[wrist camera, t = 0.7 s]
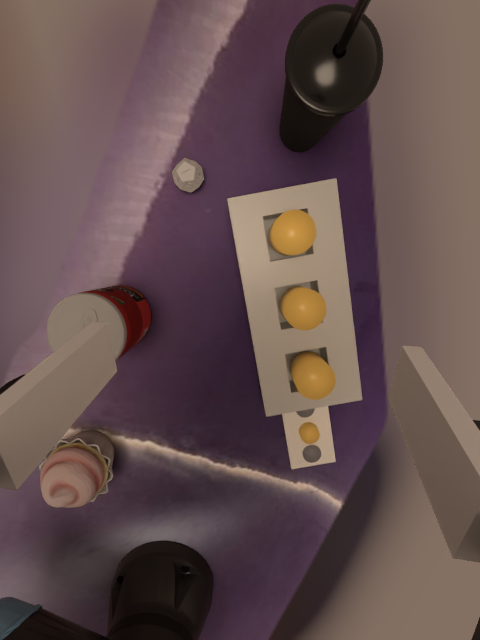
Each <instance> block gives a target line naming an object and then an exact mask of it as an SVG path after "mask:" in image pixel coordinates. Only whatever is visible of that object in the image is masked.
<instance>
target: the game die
mask: <svg viewBox="0 0 480 640" xmlns="http://www.w3.org/2000/svg"><path fill="white" fill-rule="evenodd" d="M172 174H173V178H174V182H175V184H176V185H177V186H178V187H179V188H180V189H181V190H184V191H187V192H191V193H192V192H193V191H194V190H196V189H197V188H198V187H200V185H201V183H202V182H203V180H204V176H203V170H202V167H201V166H200V165H199V164H198V163H197V162H195V161H193V160H190V159H187V158H184V159H183V160H182V161H181V162H180V163H178V164H177V166H176V167H175V168H174V170H173V171H172Z"/></svg>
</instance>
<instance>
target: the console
mask: <svg viewBox="0 0 480 640" xmlns="http://www.w3.org/2000/svg"><path fill="white" fill-rule="evenodd" d="M227 200H228V208H229V214H230V219H231V225H232V231H233V236H234V242H235V247H236V253H237V259H238V264H239V270H240V275H241V281H242V287H243V292H244V298H245V303H246V309H247V315H248V320H249V326H250V331H251V337H252V343H253V348H254V354H255V359H256V365H257V371H258V376H259V382H260V387H261V393H262V399H263V404H264V409H265V413H266V417H268V416H273V415H279V414H285V413H290V412H296V411H302V410H307V409H313V408H319V407H325V406H330V405H336V404H342V403H347V402H353V401H359V400H362V393H361V384H360V376H359V367H358V358H357V350H356V341H355V333H354V324H353V316H352V307H351V299H350V290H349V282H348V273H347V265H346V256H345V248H344V239H343V230H342V222H341V213H340V205H339V196H338V188H337V179H336V178H335V179H330V180H324V181H319V182H314V183H308V184H303V185H298V186H292V187H287V188H282V189H276V190H271V191H265V192H260V193H255V194H249V195H244V196H239V197H233V198H228V199H227ZM289 210H301V211H304V212H306V213H307V214H308V215H310V217H311V218H312V219H313V221H314V223H315V226H316V237H315V240H314V243H313V244H312V246H311V247H310V248H309V249H308V250H307V251H305V252H303V253H301V254H297V255H281V254H279V253H277V252H276V251H275V250H274V249H273V248H272V247H271V245H270V242H269V238H268V234H269V229H270V227H271V225H272V224H273V222H274V221H275V220H276V219H277V218H278V217H279V216H280V215H281V214H283V213H284V212H286V211H289ZM295 286H303V287H306V288H309V289H312V290H314V291H316V292H318V293H319V294H320V295H321V296H322V297H323V298H324V300H325V303H326V315H325V318H324V320H323V321H322V322H321V324H319V325H318V326H317V327H315V328H313V329H311V330H299V329H296V328H294V327H293V326H291V325H290V324H289V322H288V321H287V320H286V319H285V318H284V317H283V315H282V314H281V311H280V307H279V303H280V299H281V297H282V295H283V294H284V292H285V291H286V290H288V289H289V288H292V287H295ZM307 351H310V352H315V353H317V354H318V355H320V356H321V357H322V358H323V359H324V361H325V362H326V363H327V364H328V365H329V366H330V367H331V368H332V370H333V371H334V373H335V377H336V383H335V387H334V389H333V390H332V392H331V393H330V394H329V395H328V396H326V397H324V398H322V399H318V400H312V399H308V398H305V397H304V396H302V395H301V394H300V392H299V391H298V389H297V387H296V385H295V383H294V381H293V379H292V377H291V375H290V364H291V362H292V360H293V359H294V357H295V356H297V355H298V354H300V353H302V352H307Z"/></svg>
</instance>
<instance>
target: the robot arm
mask: <svg viewBox="0 0 480 640" xmlns="http://www.w3.org/2000/svg"><path fill="white" fill-rule="evenodd" d="M116 372H117V368H116V362H115V357H114V352H113V347H112V342H111V337H110V332H109V327H108V323H102V322H92V323H90V324H89V325H88V326H87V327H85V328H84V329H83V330H81V331H80V332H79V333H78V334H76V335H75V336H74V337H73V338H71V339H70V340H69V341H68V342H66V343H65V344H64V345H63V346H61V347H60V348H59V349H58V350H56V351H55V352H54V353H52V354H51V355H50V356H49V357H47V358H46V359H45V360H44V361H42V362H41V363H40V364H39V365H37V366H36V367H35V368H34V369H32V370H31V371H30V372H29V373H27V374H26V375H22V376H20V377H18V378H16V379H14V380H12V381H10V382H8V383H7V384H5V385H4V386H3V387H1V388H0V488H7V489H13V490H18V488H19V487H20V486H21V485H22V484H23V483H24V481H25V480H26V479H27V478H28V477H29V475H30V474H31V473H32V472H33V471H34V469H35V468H36V467H37V466H38V465H39V464H40V462H41V461H42V460H43V459H44V458H45V456H46V455H47V454H48V453H49V452H50V451H51V449H52V448H53V447H54V446H55V445H56V443H57V442H58V441H59V440H60V439H61V437H62V436H63V435H64V434H65V433H66V432H67V430H68V429H69V428H70V427H71V426H72V424H73V423H74V422H75V421H76V420H77V418H78V417H79V416H80V415H81V414H82V413H83V411H84V410H85V409H86V408H87V407H88V405H89V404H90V403H91V402H92V401H93V399H94V398H95V397H96V396H97V395H98V394H99V392H100V391H101V390H102V389H103V388H104V386H105V385H106V384H107V383H108V382H109V381H110V379H111V378H112V377H113V376H114V375H115V373H116ZM388 399H389V401H390V404H391V406H392V409H393V411H394V414H395V416H396V419H397V421H398V424H399V426H400V429H401V431H402V434H403V436H404V439H405V441H406V444H407V446H408V448H409V451H410V453H411V456H412V458H413V461H414V463H415V465H416V468H417V470H418V473H419V476H420V478H421V480H422V483H423V485H424V488H425V491H426V493H427V496H428V498H429V500H430V503H431V505H432V508H433V510H434V513H435V515H436V518H437V520H438V523H439V525H440V528H441V530H442V533H443V535H444V538H445V540H446V543H447V545H448V548H449V550H450V552H451V555H452V557H453V558H455V559H462V560H468V561H475V562H480V421H477V420H472V419H471V417H470V416H469V415H468V413H467V412H466V411H465V409H464V407H463V406H462V405H461V403H460V402H459V400H458V399H457V397H456V396H455V395H454V393H453V392H452V390H451V389H450V387H449V386H448V384H447V383H446V382H445V380H444V379H443V377H442V376H441V374H440V373H439V372H438V370H437V369H436V368H435V366H434V364H433V363H432V361H431V360H430V359H429V357H428V356H427V354H426V353H425V351H424V350H423V349H422V347H412V346H402V348H401V352H400V355H399V359H398V363H397V366H396V370H395V374H394V378H393V381H392V385H391V389H390V392H389V396H388ZM212 591H213V578H212V573H211V571H210V568H209V566H208V565H207V563H206V562H205V560H204V559H203V558H202V557H201V556H200V555H199V554H198V553H196V552H195V551H194V550H192V549H190V548H188V547H186V546H184V545H181V544H177V543H173V542H153V543H148V544H145V545H142V546H140V547H138V548H136V549H134V550H133V551H131V552H130V553H129V554H127V555H126V556H125V557H124V559H123V560H122V561H121V563H120V564H119V566H118V568H117V571H116V574H115V576H114V579H113V581H112V585H111V589H110V600H109V616H108V632H107V636H106V637H104V636H102V635H100V634H98V633H95V632H93V631H91V630H89V629H86V628H84V627H82V626H80V625H77V624H75V623H73V622H71V621H69V620H66V619H64V618H62V617H60V616H58V615H55V614H53V613H51V612H49V611H47V610H44V609H42V606H41V605H40V604H37V605H32V604H29V603H27V602H24V601H21V600H19V599H16V598H13V597H5V598H1V599H0V640H198V639H199V636H200V633H201V631H202V628H203V626H204V623H205V620H206V618H207V615H208V612H209V610H210V606H211V602H212ZM472 640H480V618H479V621H478V624H477V626H476V629H475V632H474V635H473V638H472Z"/></svg>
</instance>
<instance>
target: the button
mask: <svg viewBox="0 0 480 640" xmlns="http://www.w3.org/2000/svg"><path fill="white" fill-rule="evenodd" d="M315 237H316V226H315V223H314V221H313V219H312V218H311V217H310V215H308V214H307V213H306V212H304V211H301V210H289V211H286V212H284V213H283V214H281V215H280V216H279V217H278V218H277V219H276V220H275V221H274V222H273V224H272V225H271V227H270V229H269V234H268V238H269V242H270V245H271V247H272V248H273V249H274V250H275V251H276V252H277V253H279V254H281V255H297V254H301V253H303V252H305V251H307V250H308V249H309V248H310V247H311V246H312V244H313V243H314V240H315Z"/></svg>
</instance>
